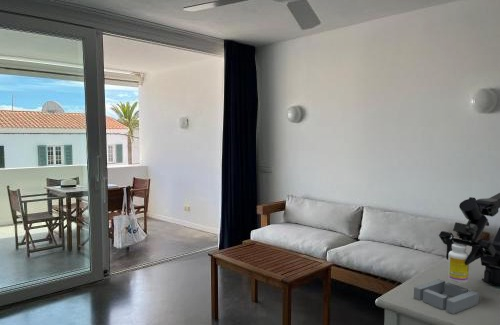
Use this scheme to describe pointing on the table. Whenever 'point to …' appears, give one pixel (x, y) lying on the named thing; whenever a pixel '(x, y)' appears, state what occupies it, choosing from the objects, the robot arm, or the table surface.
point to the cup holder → (452, 305)
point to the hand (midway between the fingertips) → (456, 261)
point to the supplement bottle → (458, 264)
